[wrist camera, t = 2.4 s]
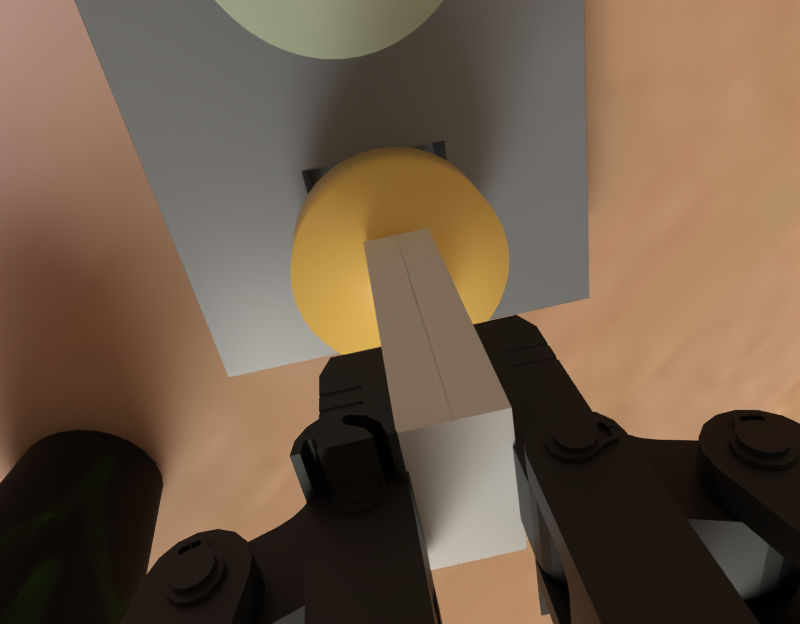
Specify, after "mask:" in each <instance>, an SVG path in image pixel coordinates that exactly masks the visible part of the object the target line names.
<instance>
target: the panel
mask: <svg viewBox="0 0 800 624" xmlns="http://www.w3.org/2000/svg"><path fill="white" fill-rule="evenodd" d="M75 3H76V5H77V8H78V10H79V13H80V15H81V18H82V20H83V22H84V25H85V27H86V30H87V32H88V35H89V37H90V40H91V42H92V44H93V47H94V49H95V52H96V54H97V57H98V59H99V62H100V64H101V66H102V69H103V71H104V74H105V76H106V79H107V81H108V84H109V86H110V88H111V91H112V93H113V96H114V98H115V101H116V103H117V106H118V108H119V110H120V113H121V115H122V118H123V120H124V123H125V125H126V128H127V130H128V132H129V135H130V137H131V140H132V142H133V145H134V147H135V150H136V152H137V154H138V157H139V159H140V162H141V164H142V167H143V169H144V172H145V174H146V176H147V179H148V181H149V184H150V186H151V189H152V191H153V194H154V196H155V198H156V201H157V203H158V206H159V208H160V211H161V213H162V216H163V218H164V220H165V223H166V225H167V228H168V230H169V233H170V235H171V237H172V240H173V242H174V245H175V247H176V250H177V252H178V255H179V257H180V259H181V262H182V264H183V267H184V269H185V272H186V274H187V277H188V279H189V281H190V284H191V286H192V289H193V291H194V294H195V296H196V299H197V301H198V303H199V306H200V308H201V311H202V313H203V316H204V318H205V321H206V323H207V325H208V328H209V330H210V333H211V335H212V338H213V340H214V343H215V345H216V347H217V350H218V352H219V355H220V357H221V360H222V362H223V365H224V367H225V369H226V372H227V374H228V377H233V376H238V375H242V374H247V373H251V372H256V371H260V370H265V369H269V368H274V367H278V366H283V365H287V364H292V363H297V362H301V361H306V360H310V359H315V358H319V357H324V356H328V355H333V354H337V353H339V352H337V351H335V350H333V349H332V348H331V347H329V346H328V345H327V344H325V343H324V342H323V341H322V340H321V339H320V338H319V337H317V336H316V335H315V334H314V333H313V331H312V330H311V329H310V327H309V326H308V325H307V323H306V322H305V320H304V319H303V317H302V315H301V313H300V312H299V309H298V307H297V304H296V302H295V299H294V295H293V290H292V286H291V274H290V272H291V258H292V248H293V239H294V230H295V226H296V221H297V217H298V214H299V212H300V209H301V206H302V204H303V203H304V201H305V199H306V197H307V195H308V194H309V192H310V191H311V189H312V188H313V187H314V185H315V184H316V183H317V182H318V181H319V180H320V179H321V178H322V177H323V176H324V175H325V174H326V173H327V172H328V171H330V170H331V169H332V168H333V167H335V166H336V165H338V164H339V163H341V162H343V161H344V160H346V159H348V158H350V157H352V156H354V155H357V154H359V153H362V152H365V151H369V150H372V149H378V148H385V147H406V148H415V149H419V150H423V151H426V152H430V153H432V154H434V155H437V156H439V157H441V158H443V159H445V160H446V161H448V162H450V163H451V164H453V165H454V166H455V167H457V168H458V169H459V170H460V171H462V172H463V173H464V174H465V176H466V177H467V178H468V179H469V180H470V181H471V182H472V183H473V185H474V186H475V187H476V188H477V190H478V191H479V192H480V193H481V194H482V196H483V197H484V198H485V199H486V201H487V202H488V203H489V205H490V206H491V207H492V209H493V210H494V212H495V213H496V215H497V217H498V219H499V221H500V223H501V225H502V227H503V230H504V233H505V236H506V239H507V244H508V250H509V270H508V278H507V282H506V286H505V290H504V293H503V295H502V298H501V300H500V303H499V304H498V306H497V308H496V310H495V312H494V313H493V315H492V316H491V317H490V319H489V320H492V319H496V318H501V317H505V316H510V315H514V314H519V313H524V312H528V311H533V310H537V309H542V308H546V307H551V306H555V305H560V304H564V303H569V302H573V301H578V300H583V299H587V298H589V253H588V194H587V134H586V75H585V16H584V0H443V1H442V2H441V4H440V5H439V7H438V8H437V9H436V10H435V11H434V12H433V13H432V14H431V15H430V16H429V18H428V19H427V20H426V21H425V22H424V23H423V24H421V25H420V26H419V27H418V28H417V29H415V30H414V31H413V32H412V33H411V34H409V35H408V36H406V37H404V38H403V39H401V40H400V41H398V42H396V43H395V44H393V45H391V46H388V47H386V48H384V49H382V50H380V51H377V52H374V53H370V54H367V55H363V56H360V57H353V58H346V59H320V58H313V57H306V56H302V55H298V54H295V53H292V52H288V51H285V50H283V49H281V48H278V47H276V46H274V45H271V44H269V43H267V42H266V41H264V40H262V39H261V38H259V37H257V36H256V35H254V34H252V33H251V32H249V31H248V30H247V29H245V28H244V27H243V26H242V25H240V24H239V23H238V22H236V21H235V20H234V19H233V18H232V17H231V16H230V15H229V14H228V13H227V12H226V11H225V10H224V9H223V8H222V7H221V6H220V5H219V4H218V3H217V2H216V1H215V0H75Z"/></svg>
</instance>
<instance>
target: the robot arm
mask: <svg viewBox="0 0 800 624" xmlns="http://www.w3.org/2000/svg"><path fill="white" fill-rule="evenodd" d="M363 243H364V249H365V255H366V260H367V266H368V272H369V278H370V284H371V290H372V295H373V301H374V307H375V313H376V319H377V325H378V330H379V336H380V342H381V347H377V348H372V349H368V350H363V351H359V352H354V353H349V354H345V355H340V356H336V357H331V358H330V359H329V361H328V363H327V364H326V366H325V368H324V369H323V371H322V373H321V374H320V376H319V396H320V399H319V412H320V415H319V419H318V420H317V421H315V422H314V423H312V424H311V425H309V426H308V427H306V428H305V430H304V431H303V432H302V433H301V434H300V435H299V437H298V438H297V439H296V440H295V442H294V445H293V448H292V451H291V454H290V458H291V461H292V463H293V466H294V469H295V472H296V474H297V477H298V480H299V482H300V485H301V488H302V490H303V493H304V496H305V498H306V501H307V503H306V505H305V506H304V507H303V509H301V510H300V511H299V512H298V513H297V514H296V515H295V516H294V517H292V518H291V519H290V520H288V521H287V522H285V523H283V524H282V525H280V526H278V527H277V528H275V529H273V530H271V531H269V532H267V533H265V534H263V535H261V536H259V537H257V538H255V539H253V540H251V541H249V542H247V541H246V540H245V539H243V538H242V537H241V536H240V535H238V534H237V533H236V532H233V531H227V530H221V529H215V530H210V531H205V532H200V533H197V534H195V535H193V536H191V537H188V538H186V539H184V540H182V541H180V542H178V543H177V544H176V545H174V546H173V547H172V548H171V549H170V550H168V551H167V552H166V553H165V554H163V555H162V556H161V557H160V558H159V559H158V560H157V562H156V563H155V564H154V566H153V567H152V568H151V570H150V571H149V572H148V574H147V575H146V577H145V578H144V580H143V582H142V584H141V586H140V587H139V589H138V591H137V593H136V595H135V597H134V598H133V600H132V602H131V604H130V606H129V608H128V609H127V611H126V613H125V615H124V617H123V619H122V621H121V622H120V624H442V620H441V614H440V609H439V605H438V600H437V596H436V592H435V588H434V584H433V579H432V573H431V570H434V569H439V568H443V567H448V566H452V565H457V564H461V563H465V562H470V561H474V560H479V559H483V558H487V557H492V556H496V555H501V554H505V553H510V552H514V551H518V550H523V549H527V545H526V535H525V531H526V534H527V536H528V539H529V542H530V544H531V547H532V549H533V552H534V555H535V561H536V571H537V581H538V591H539V601H540V608H541V615H546V614H549V613H550V616H551V619H552V621H553V624H800V424H799V423H797V422H795V421H793V420H791V419H789V418H786V417H784V416H782V415H777V414H773V413H769V412H764V411H760V410H733V411H729V412H726V413H722V414H718V415H716V416H714V417H713V418H711V419H710V420H709V421H707V422H706V423H705V424H704V425H703V427H702V430H701V433H700V435H699V440H698V441H692V440H655V439H645V438H639V437H635V436H631V435H628V434H627V433H626V431H625V430H624V429H623V428H621V427H620V426H619V425H618V424H617V423H616V422H615V421H614V420H612V419H610V418H608V417H606V416H604V415H601V414H599V413H597V412H592V410H591V409H590V407H589V406H588V404H587V403H586V401H585V400H584V398H583V397H582V395H581V394H580V392H579V390H578V389H577V387H576V386H575V384H574V383H573V381H572V380H571V378H570V377H569V375H568V374H567V372H566V371H565V369H564V368H563V366H562V365H561V363H560V361H559V360H557V359H556V355H555V354H554V352H553V351H552V349H551V348H550V346H548V345H547V342H546V340H545V339H544V337H543V336H542V334H541V333H540V331H539V329H538V328H537V326H535V325H533V324H531V323H530V322H528V321H526V320H524V319H523V318H521V317H519V316H517V315H514V316H509V317H505V318H500V319H495V320H491V321H486V322H482V323H477V324H473V323H472V321H471V319H470V317H469V315H468V313H467V311H466V308H465V306H464V304H463V302H462V300H461V298H460V295H459V293H458V291H457V289H456V287H455V285H454V283H453V280H452V278H451V276H450V274H449V272H448V270H447V268H446V265H445V263H444V261H443V259H442V257H441V255H440V252H439V250H438V248H437V246H436V244H435V242H434V240H433V237H432V235H431V233H430V231H429V229H428V228H425V229H421V230H416V231H412V232H407V233H402V234H398V235H393V236H388V237H384V238H379V239H375V240H370V241H365V242H363Z"/></svg>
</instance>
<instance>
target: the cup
mask: <svg viewBox="0 0 800 624" xmlns="http://www.w3.org/2000/svg"><path fill="white" fill-rule="evenodd" d="M162 488H163V484H162V478H161V473H160V471H159V470H158V468H157V466H156V464H155V462H154V461H153V460H152V459H151V458H150V457H149V456H148V455H147V454H146V453H145V452H144V451H143V450H141V449H140V448H138V447H137V446H136V445H134V444H133V443H131V442H129V441H126V440H124V439H122V438H119V437H117V436H115V435H110V434H106V433H102V432H97V431H82V430H76V431H68V432H60V433H57V434H54V435H51V436H48V437H45V438H43V439H42V440H40V441H38V442H37V443H35V444H34V445H32V446H31V447H30V448H29V449H28V450H27V451H26V453H25V454H24V455H23V456H22V457H21V458H20V460H19V461H18V462H17V463H16V465H15V466H14V467H13V468H12V470H11V471H10V472H9V473H8V474H7V476H6V477H5V478H4V479H3V481H2V482H1V483H0V624H120V622H121V621H122V619H123V617H124V615H125V613H126V611H127V609H128V608H129V606H130V604H131V602H132V600H133V598H134V597H135V595H136V593H137V591H138V589H139V587H140V586H141V584H142V582H143V580H144V578H145V577H146V574H147V569H148V563H149V558H150V553H151V547H152V542H153V537H154V531H155V526H156V521H157V515H158V510H159V505H160V499H161V494H162Z"/></svg>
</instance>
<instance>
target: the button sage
mask: <svg viewBox="0 0 800 624" xmlns="http://www.w3.org/2000/svg"><path fill="white" fill-rule="evenodd" d="M215 1H216V2H217V3H218V4H219V5H220V6H221V7H222V8H223V9H224V10H225V11H226V12H227V13H228V14H229V15H230V16H231V17H232V18H233V19H234V20H235V21H236V22H238V23H239V24H240V25H242V26H243V27H244V28H245V29H247V30H248V31H249V32H251V33H252V34H254V35H256V36H257V37H259V38H261V39H262V40H264V41H266V42H267V43H269V44H271V45H274V46H276V47H278V48H281V49H283V50H285V51H288V52H292V53H295V54H298V55H302V56H306V57H313V58H320V59H346V58H353V57H360V56H363V55H367V54H370V53H374V52H377V51H380V50H382V49H384V48H386V47H388V46H391V45H393V44H395V43H396V42H398V41H400V40H401V39H403V38H404V37H406V36H408V35H409V34H411V33H412V32H413V31H414V30H415V29H417V28H418V27H419V26H420V25H421V24H423V23H424V22H425V21H426V20H427V19H428V18H429V16H430V15H431V14H432V13H433V12H434V11H435V10H436V9H437V8H438V7H439V5H440V4H441V2H442V1H443V0H215Z"/></svg>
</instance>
